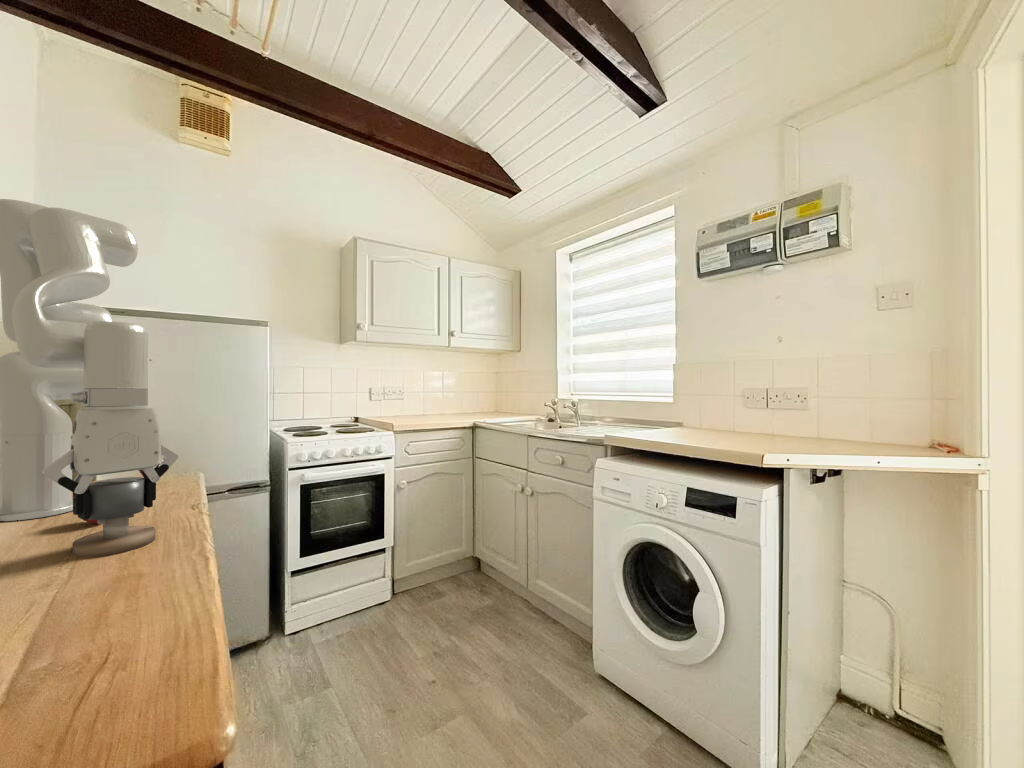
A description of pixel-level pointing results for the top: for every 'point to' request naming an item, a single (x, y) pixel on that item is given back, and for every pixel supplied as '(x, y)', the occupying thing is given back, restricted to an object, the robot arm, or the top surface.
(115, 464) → the robot arm
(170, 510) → the top surface
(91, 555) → the post base
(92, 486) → the grey striped cylinder
